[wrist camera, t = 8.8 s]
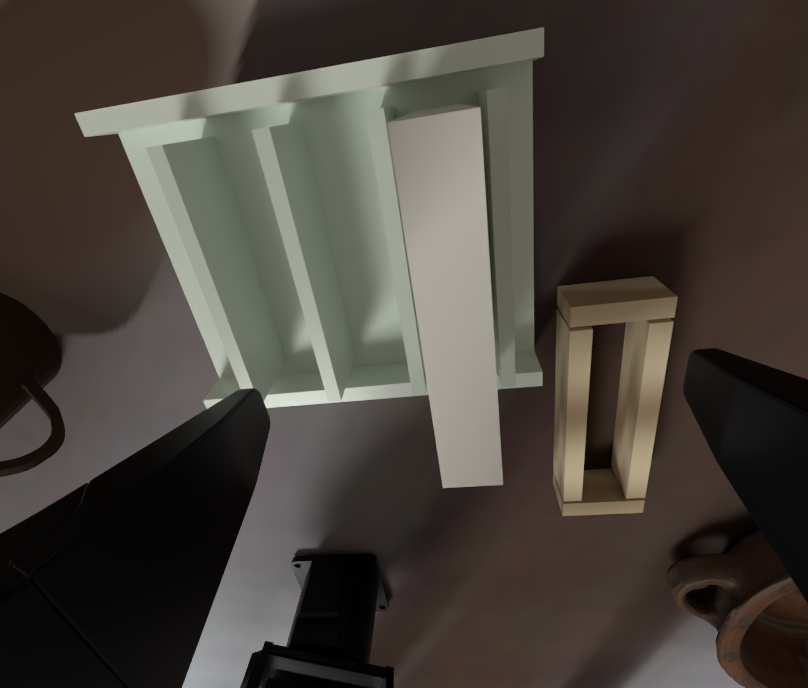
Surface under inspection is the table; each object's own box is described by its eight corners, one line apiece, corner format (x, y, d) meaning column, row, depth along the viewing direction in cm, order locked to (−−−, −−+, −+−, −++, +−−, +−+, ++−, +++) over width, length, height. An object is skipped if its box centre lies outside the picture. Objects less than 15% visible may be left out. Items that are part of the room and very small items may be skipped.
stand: (626, 479, 27) (642, 512, 25) (553, 483, 28) (562, 515, 26) (652, 275, 21) (677, 296, 19) (557, 286, 21) (570, 307, 19)
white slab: (476, 330, 22) (503, 484, 13) (440, 334, 22) (442, 488, 13) (458, 103, 17) (480, 106, 8) (412, 111, 17) (387, 122, 9)
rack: (530, 353, 23) (552, 412, 19) (232, 380, 26) (189, 438, 21) (527, 38, 17) (559, 16, 12) (124, 111, 19) (30, 114, 15)
